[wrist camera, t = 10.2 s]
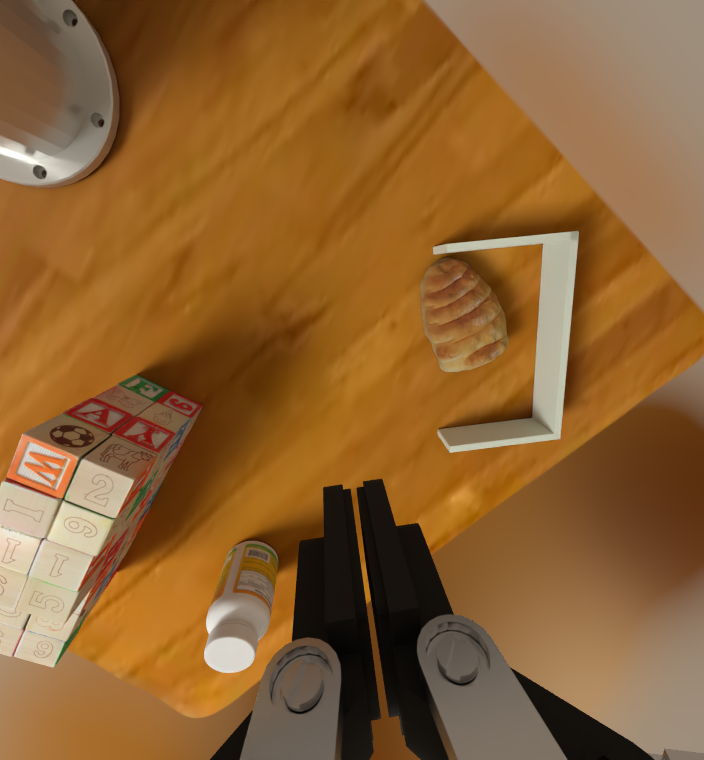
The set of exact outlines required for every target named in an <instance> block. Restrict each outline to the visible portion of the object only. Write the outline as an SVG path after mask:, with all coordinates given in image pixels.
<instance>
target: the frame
mask: <svg viewBox="0 0 704 760" xmlns="http://www.w3.org/2000/svg"><path fill="white" fill-rule="evenodd" d="M578 238H579V231H573V232H563V233H553V234H543V235H532V236H522V237H512V238H502V239H492V240H482V241H472V242H462V243H452V244H445V245H440V246H435V247H433V255H435V254H445V253H455V252H465V251H475V250H485V249H494V248H504V247H514V246H524V245H534V244H543V252H542V268H541V283H540V299H539V315H538V331H537V347H536V362H535V378H534V394H533V410H532V418H526V419H518V420H510V421H502V422H494V423H485V424H477V425H469V426H461V427H453V428H444V429H438V436H439V437H440V439H441V440H442V442H443V443H444V445H445V446H446V448H447V449H448V451H449V452H450V453H451V452H459V451H467V450H475V449H483V448H491V447H499V446H507V445H515V444H523V443H531V442H539V441H547V440H555V439H560V435H561V424H562V413H563V402H564V391H565V380H566V369H567V358H568V348H569V337H570V326H571V315H572V304H573V293H574V282H575V271H576V260H577V249H578Z"/></svg>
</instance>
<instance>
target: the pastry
mask: <svg viewBox="0 0 704 760" xmlns="http://www.w3.org/2000/svg"><path fill="white" fill-rule="evenodd" d="M420 288H421V297H422V304H421V309H422V314H423V323H424V332H425V335H426V336H427V337H428V338H429V339H430V341H431V344H432V347H433V350H434V352H435V354H436V356H437V358H438V361H439V366H440V368H441V369H442V370H443V371H446V372H458V371H461V370H470V369H473V368H476V367H479V366H482V365H484V364H486V363H489V362H491V361H493V360H494V359H495V358H496V357H497V356H498V355H501V354H502V353H503V352H504V351H505V349H506V348H507V346H508V343H509V339H508V336H507V331H506V317H505V313H504V311H503V310H502V308H501V306H500V304H499V301H498V298H497V296H496V294H494V293H493V291H492V289H491V287H490V286H489V285H488V284H486V283H485V281H484V279H483V278H482V277H480V276H479V275H478V274H476V273H475V272H474V271H473V270H472V268H471V267H470V265H469V264H468V263H467V262H464V261H461V260H456V259H452V258H443V259H441V260H438V261H437V262H435V263H434V264H433V265H431V266H430V267H429V268H428V270H427V271H426V274H425V276H424V278H423V279H422V282H421V284H420Z"/></svg>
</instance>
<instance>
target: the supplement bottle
mask: <svg viewBox="0 0 704 760" xmlns="http://www.w3.org/2000/svg"><path fill="white" fill-rule="evenodd" d="M277 570H278V557H277V554H276V552H275V551H274V550H273V549H272V548H271V547H270V546H269V545H267V544H265V543H263V542H260V541H245V542H242V543H240V544H238V545H236V546H235V547H233V548H232V549H231V551H230V552H229V553H228V555H227V558H226V560H225V563H224V566H223V569H222V573H221V575H220V578H219V581H218V584H217V587H216V590H215V593H214V596H213V599H212V602H211V605H210V608H209V611H208V615H207V619H206V627H207V630H208V633H209V637H208V640H207V644H206V647H205V651H204V658H205V661H206V663H207V664H208V665H209V666H210V667H211V668H213V669H214V670H217V671H220V672H224V673H234V672H239V671H242V670H244V669H246V668H247V667H249V666H250V665H251V664H252V662H253V661H254V658H255V655H256V650H257V646H258V641H259V640H260V639H261V638H262V637H263V636H264V634H265V633H266V631H267V629H268V627H269V622H270V616H271V610H272V603H273V596H274V590H275V583H276V577H277Z"/></svg>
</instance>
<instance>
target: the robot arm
mask: <svg viewBox="0 0 704 760" xmlns="http://www.w3.org/2000/svg"><path fill="white" fill-rule="evenodd" d="M103 122H104V125H103V127H102V123H103ZM118 122H119V92H118V85H117V79H116V75H115V72H114V69H113V66H112V63H111V60H110V57H109V54H108V52H107V50H106V48H105V46H104V44H103V42H102V40H101V38H100V36H99V34H98V33H97V31H96V30H95V28H94V27H93V26H92V24H91V23H90V21H89V20H88V18H87V17H86V15H85V14H84V13H83V12H82V11H81V10H80V9H79V8H78V6H77V5H76V4H75V3H74V2H73V1H72V0H0V178H1V179H3V180H6V181H10V182H13V183H17V184H20V185H25V186H31V187H37V188H54V187H61V186H65V185H69V184H73V183H75V182H77V181H79V180H81V179H83V178H84V177H86V176H88V175H89V174H90V173H91V172H93V171H94V170H95V169H96V168H97V167H98V166H99V165H100V164H101V163H102V161H103V160H104V158H105V157H106V156H107V154H108V153H109V151H110V149H111V146H112V144H113V141H114V139H115V137H116V132H117V127H118ZM46 174H47V176H46ZM363 486H364V487H358V488H357V496H358V505H359V513H360V521H361V529H362V537H363V545H364V553H365V561H366V569H367V576H368V582H369V589H370V595H371V602H372V608H373V615H374V621H375V628H376V635H377V641H378V648H379V654H380V661H381V667H382V674H383V681H384V687H385V694H386V699H387V706H388V712H389V717H394V716H399V719H400V725H401V731H402V735H404V736H405V741H406V746H407V747H408V748H409V749H410V750H411V751H412V752H413V753H414V754H415V755H417V756H418V757H419V758H420V759H421V760H704V753H696V752H687V751H679V750H671V749H664V753H663V755H657V754H648V753H646V752H645V751H643V750H642V749H641V748H639V747H638V746H637V745H635V744H634V743H633V742H631V741H629V740H628V739H626V738H624V737H623V736H621V735H619V734H618V733H616V732H615V731H613V730H611V729H610V728H608V727H607V726H605V725H603V724H602V723H600V722H598V721H597V720H595V719H593V718H592V717H590V716H589V715H587V714H585V713H584V712H582V711H580V710H579V709H577V708H576V707H574V706H572V705H571V704H569V703H567V702H566V701H564V700H563V699H561V698H559V697H558V696H556V695H554V694H553V693H551V692H549V691H548V690H546V689H544V688H543V687H541V686H540V685H538V684H536V683H535V682H533V681H531V680H530V679H528V678H527V677H525V676H523V675H522V674H520V673H519V672H517V671H515V670H514V669H512V668H510V667H509V665H508V664H507V662H506V660H505V659H504V657H503V656H502V654H501V653H500V651H499V649H498V648H497V646H496V645H495V643H494V641H493V640H492V638H491V637H490V636H489V635H488V634H487V632H486V631H485V630H484V629H483V628H482V627H481V626H479V625H478V624H477V623H475V622H474V621H473V620H470V619H468V618H465V617H463V616H459V615H454V614H453V611H452V609H451V606H450V604H449V602H448V598H447V596H446V594H445V590H444V588H443V585H442V583H441V580H440V577H439V575H438V572H437V570H436V567H435V564H434V562H433V559H432V557H431V554H430V551H429V549H428V546H427V544H426V541H425V538H424V536H423V533H422V531H421V528H420V526H419V524H418V523H415V524H408V525H402V526H396V525H395V521H394V518H393V514H392V511H391V507H390V504H389V501H388V497H387V494H386V490H385V487H384V483H383V480H382V479H377V480H370V481H363ZM323 501H324V537H322V538H316V539H309V540H303V541H300V544H299V554H298V568H297V581H296V594H295V607H294V620H293V634H292V642H291V643H289V644H286V645H285V646H284V647H283V648H281V649H280V650H279V651H278V652H277V653H276V654H275V655H274V656H273V658H272V659H271V661H270V662H269V663H268V665H267V667H266V669H265V672H264V674H263V677H262V680H261V683H260V687H259V691H258V695H257V698H256V702H255V705H254V709H253V711H252V712H251V713H250V714H249V715H248V716H247V717H246V719H245V720H244V721H243V722H242V723H241V724H240V726H239V727H238V728H237V729H236V730H235V731H234V732H233V734H232V735H231V736H230V737H229V738H228V739H227V741H226V742H225V743H224V744H223V745H222V746H221V747H220V749H219V750H218V751H217V752H216V753H215V754H214V755H213V757H212V758H211V759H210V760H369V759H370V758H371V756H372V754H373V752H374V751H373V742H372V741H373V734H372V725H371V720H377V719H380V718H381V715H380V708H379V701H378V692H377V684H376V677H375V670H374V661H373V654H372V645H371V638H370V630H369V622H368V616H367V607H366V600H365V592H364V585H363V578H362V570H361V563H360V555H359V548H358V541H357V533H356V526H355V519H354V511H353V504H352V496H351V489H344V490H343V485H335V486H328V487H324V488H323Z"/></svg>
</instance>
